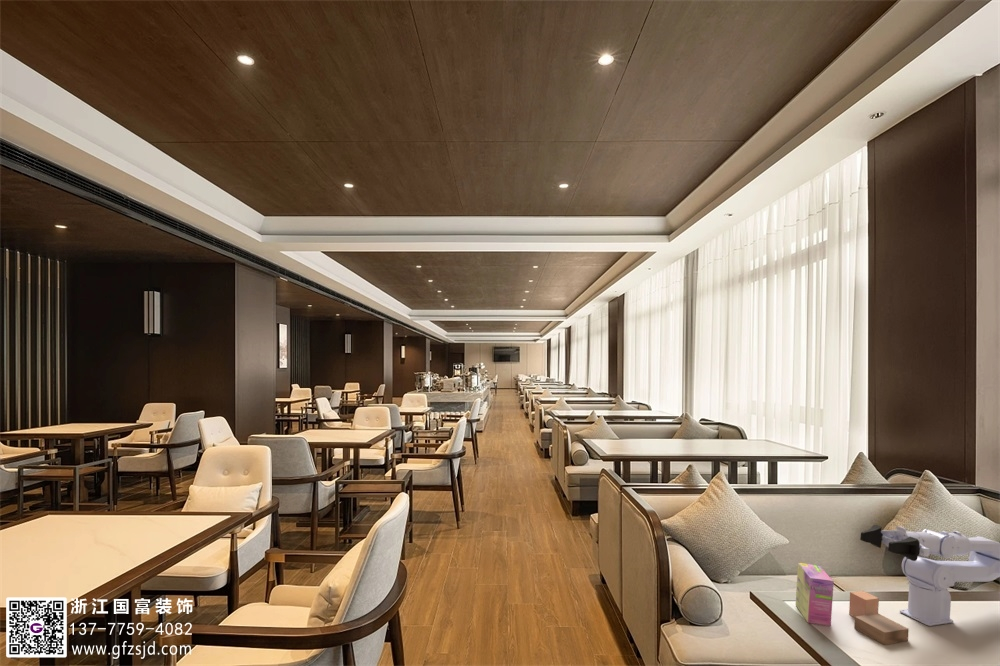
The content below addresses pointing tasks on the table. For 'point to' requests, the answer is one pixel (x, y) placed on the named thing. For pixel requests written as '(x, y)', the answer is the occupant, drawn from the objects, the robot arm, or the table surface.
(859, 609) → the peach cube
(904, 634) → the walnut slab
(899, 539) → the robot arm
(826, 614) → the box
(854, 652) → the table surface
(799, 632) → the table surface
